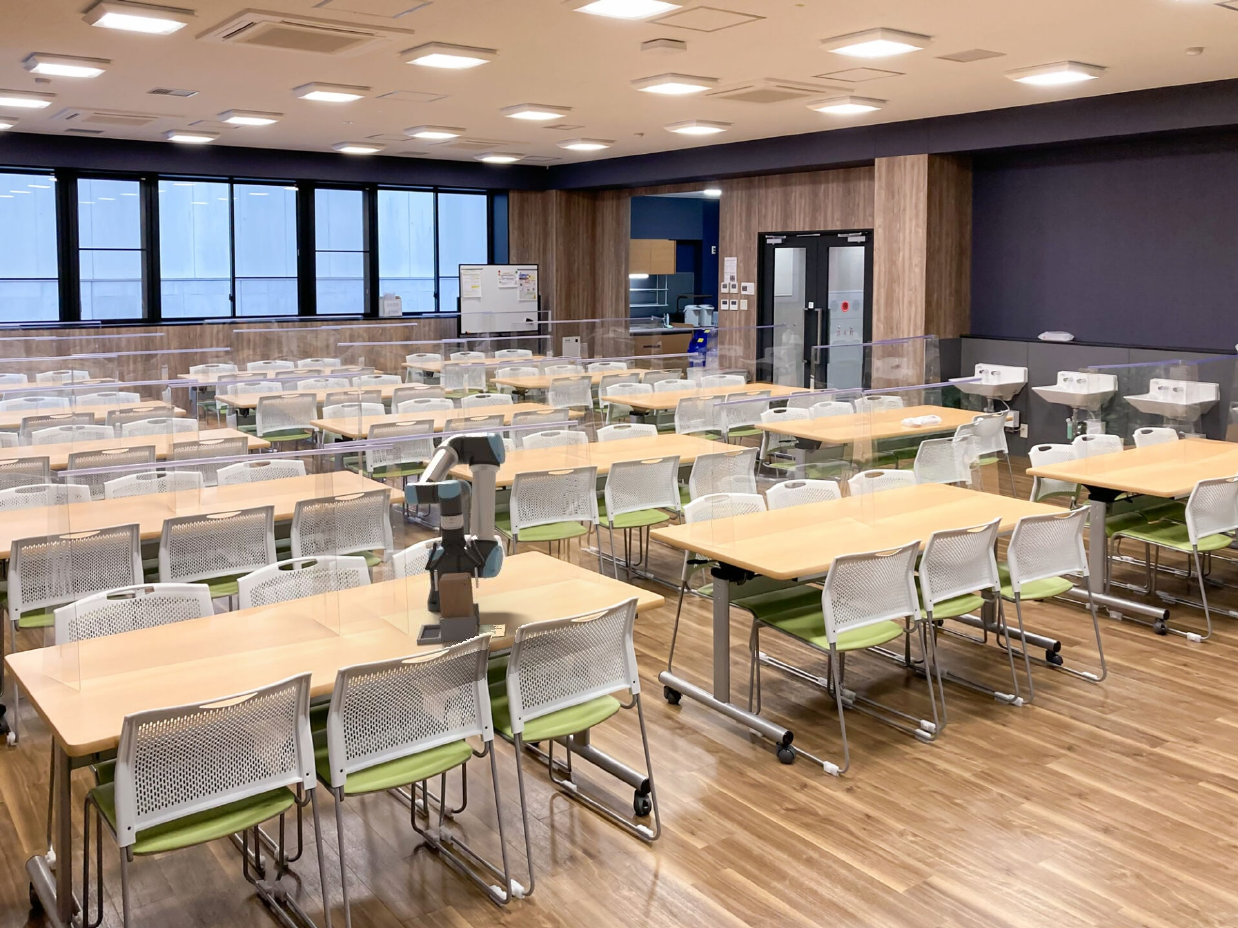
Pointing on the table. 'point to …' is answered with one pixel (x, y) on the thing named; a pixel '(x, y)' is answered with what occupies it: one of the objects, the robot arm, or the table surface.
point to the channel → (460, 627)
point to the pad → (487, 629)
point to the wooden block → (456, 595)
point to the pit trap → (429, 634)
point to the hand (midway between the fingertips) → (457, 588)
